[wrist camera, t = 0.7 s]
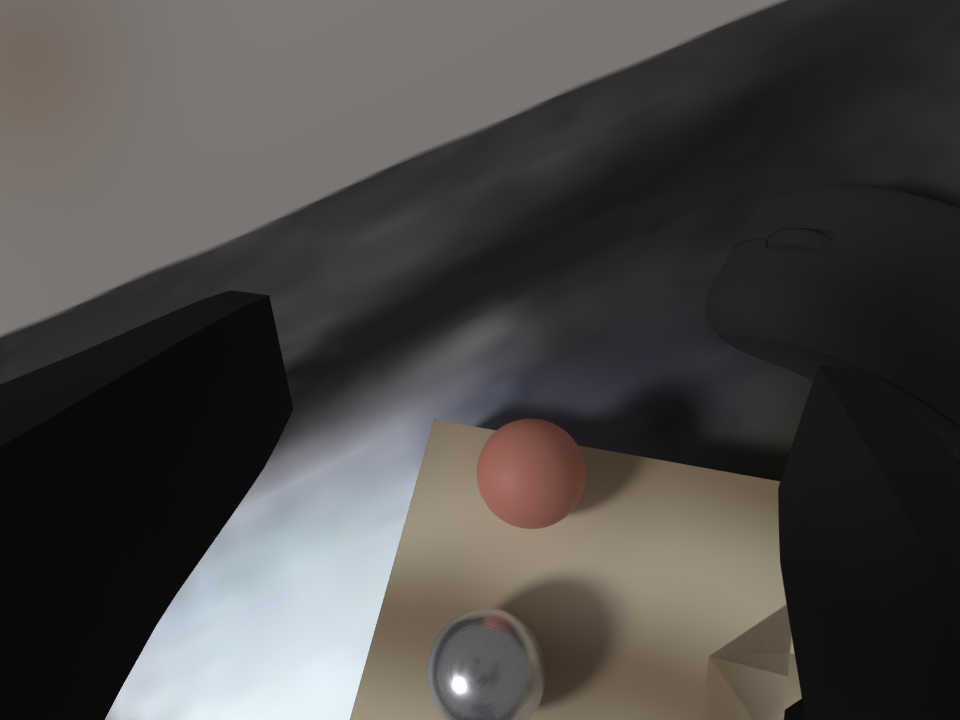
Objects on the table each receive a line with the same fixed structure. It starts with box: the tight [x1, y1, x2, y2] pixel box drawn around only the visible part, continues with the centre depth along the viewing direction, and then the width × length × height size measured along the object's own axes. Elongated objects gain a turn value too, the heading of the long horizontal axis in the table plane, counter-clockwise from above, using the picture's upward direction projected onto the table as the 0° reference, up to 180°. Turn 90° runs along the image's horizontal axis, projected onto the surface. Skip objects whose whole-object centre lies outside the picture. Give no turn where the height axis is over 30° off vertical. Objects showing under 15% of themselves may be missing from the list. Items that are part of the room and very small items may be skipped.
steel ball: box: [426, 608, 546, 720], centre depth 19 cm, size 3×3×3 cm
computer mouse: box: [706, 185, 960, 446], centre depth 23 cm, size 6×11×4 cm, turn 57°
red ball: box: [477, 419, 586, 529], centre depth 21 cm, size 3×3×3 cm
